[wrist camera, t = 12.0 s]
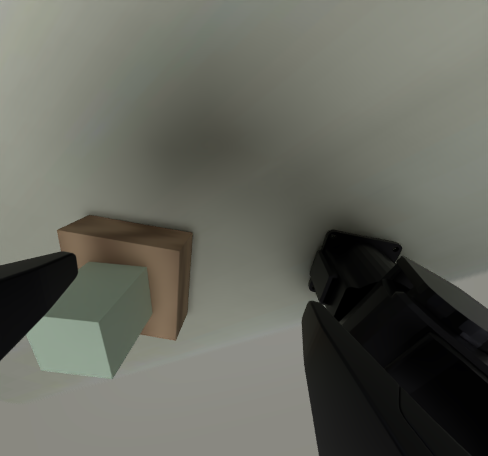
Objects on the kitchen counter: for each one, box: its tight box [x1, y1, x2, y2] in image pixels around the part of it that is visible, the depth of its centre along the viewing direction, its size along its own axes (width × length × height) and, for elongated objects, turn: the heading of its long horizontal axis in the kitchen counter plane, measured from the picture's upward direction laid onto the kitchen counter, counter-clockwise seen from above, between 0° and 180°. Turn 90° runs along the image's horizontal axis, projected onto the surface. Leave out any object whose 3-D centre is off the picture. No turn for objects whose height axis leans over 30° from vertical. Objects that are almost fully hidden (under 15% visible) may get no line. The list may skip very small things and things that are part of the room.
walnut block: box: [57, 215, 193, 341], centre depth 22 cm, size 10×10×4 cm
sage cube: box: [26, 262, 153, 379], centre depth 17 cm, size 5×5×6 cm
